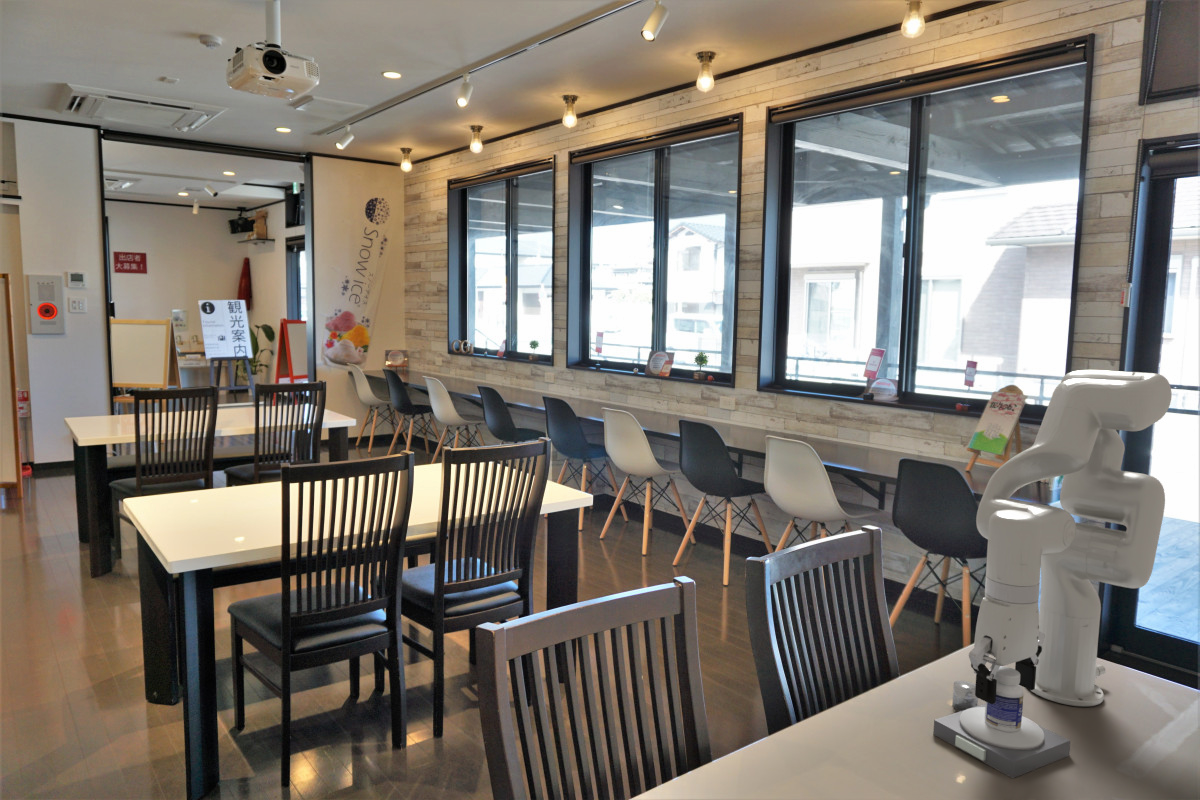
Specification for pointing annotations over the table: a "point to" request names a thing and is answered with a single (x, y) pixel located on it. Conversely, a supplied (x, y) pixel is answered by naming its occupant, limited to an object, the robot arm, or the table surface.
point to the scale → (1002, 742)
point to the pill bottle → (1006, 702)
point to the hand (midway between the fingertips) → (1005, 693)
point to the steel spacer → (964, 695)
